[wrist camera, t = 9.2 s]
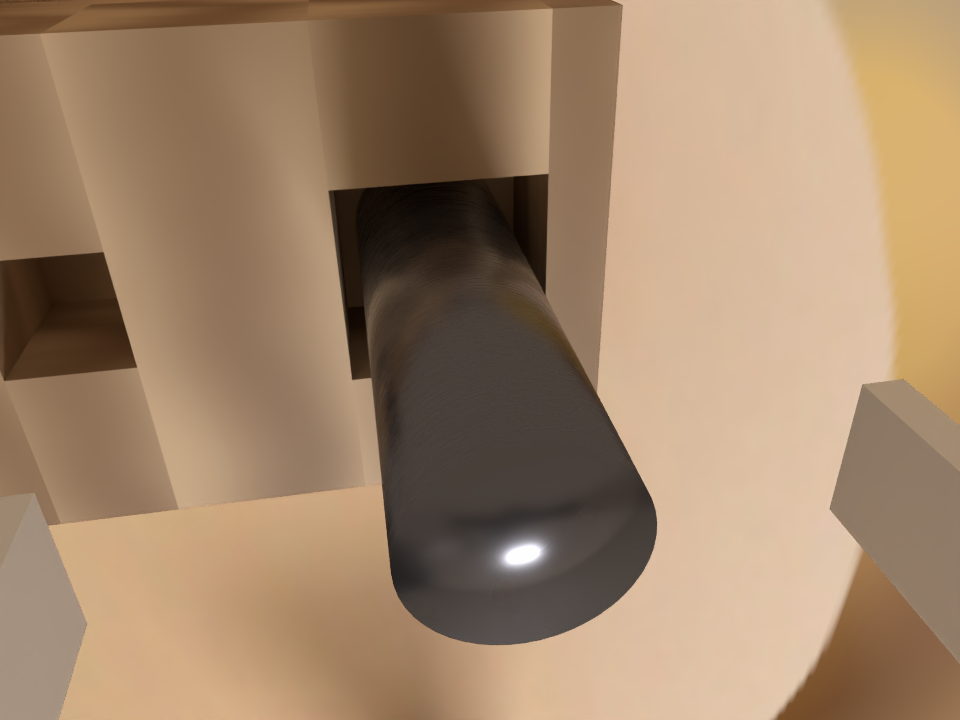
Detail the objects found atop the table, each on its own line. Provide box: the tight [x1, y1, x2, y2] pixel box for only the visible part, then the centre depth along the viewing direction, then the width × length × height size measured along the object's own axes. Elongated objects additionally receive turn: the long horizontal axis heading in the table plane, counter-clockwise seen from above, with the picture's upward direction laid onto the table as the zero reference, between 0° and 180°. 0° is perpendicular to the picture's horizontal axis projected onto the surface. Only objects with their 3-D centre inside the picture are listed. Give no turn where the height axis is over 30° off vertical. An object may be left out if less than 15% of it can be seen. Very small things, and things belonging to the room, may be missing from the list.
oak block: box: [0, 0, 623, 526], centre depth 21 cm, size 17×12×5 cm
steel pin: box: [356, 179, 657, 645], centre depth 17 cm, size 4×4×13 cm
